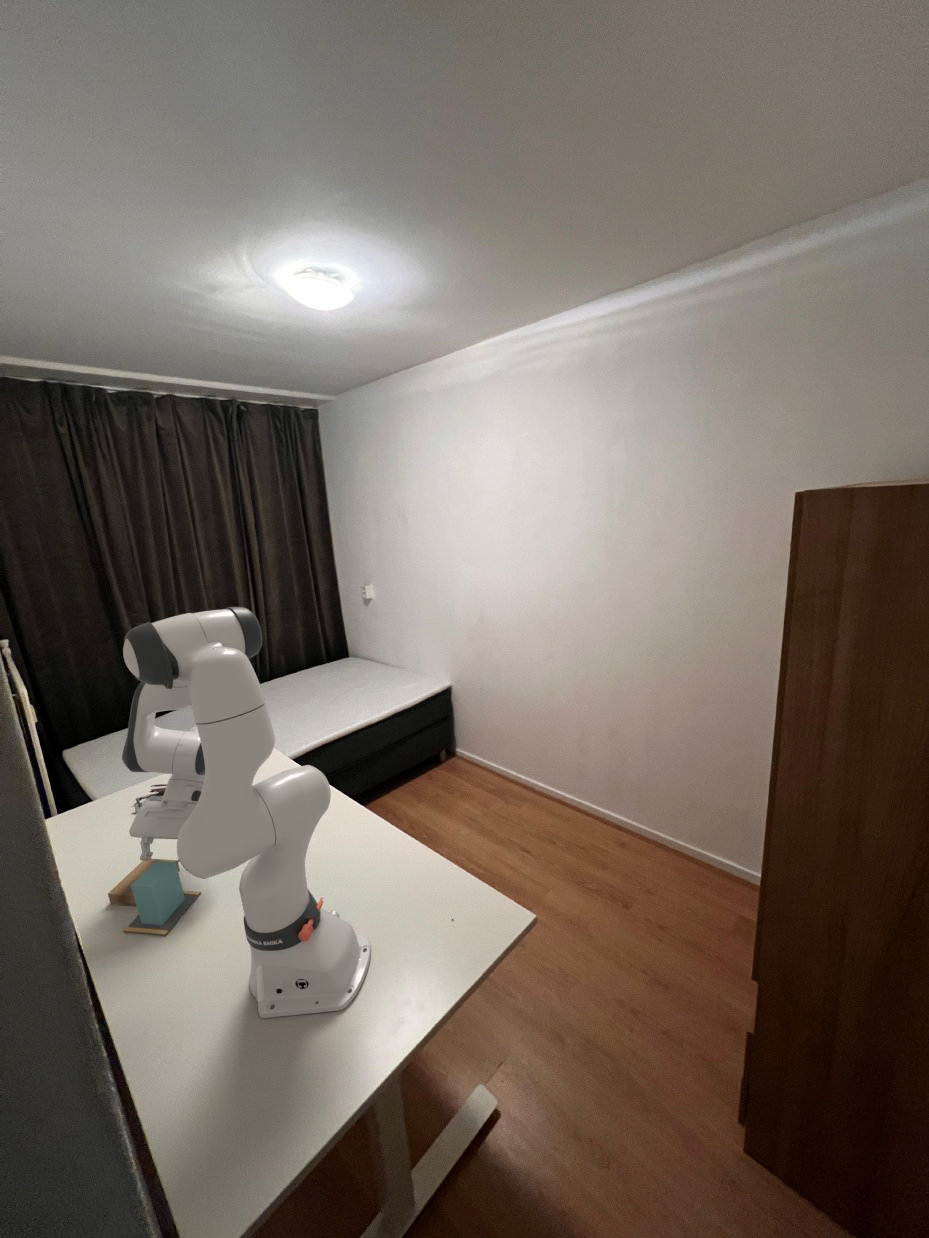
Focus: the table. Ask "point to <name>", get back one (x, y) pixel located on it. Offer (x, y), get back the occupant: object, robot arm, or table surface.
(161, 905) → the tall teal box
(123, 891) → the block
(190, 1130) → the table surface
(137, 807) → the action figure
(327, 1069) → the table surface
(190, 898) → the mat
